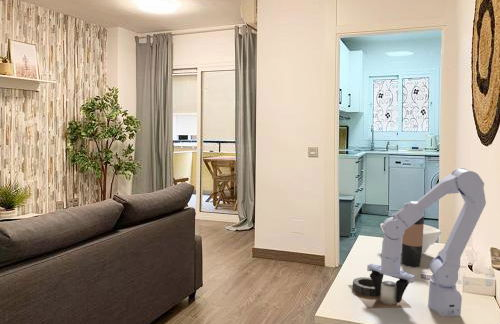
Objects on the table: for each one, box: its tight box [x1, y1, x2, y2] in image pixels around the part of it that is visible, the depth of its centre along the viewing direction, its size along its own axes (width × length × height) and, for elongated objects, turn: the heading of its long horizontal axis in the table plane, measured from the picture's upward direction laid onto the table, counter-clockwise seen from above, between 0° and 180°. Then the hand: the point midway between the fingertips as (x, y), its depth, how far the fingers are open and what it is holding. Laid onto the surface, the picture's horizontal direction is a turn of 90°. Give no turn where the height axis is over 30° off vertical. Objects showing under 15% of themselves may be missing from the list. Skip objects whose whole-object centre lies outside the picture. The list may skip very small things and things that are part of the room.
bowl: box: [379, 222, 442, 255], centre depth 188 cm, size 22×22×12 cm
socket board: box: [347, 276, 412, 309], centre depth 136 cm, size 18×14×4 cm
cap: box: [380, 280, 397, 305], centre depth 132 cm, size 5×5×6 cm
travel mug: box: [401, 216, 425, 268], centre depth 171 cm, size 8×8×20 cm
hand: (388, 298), depth 132 cm, fingers open, 6 cm apart
